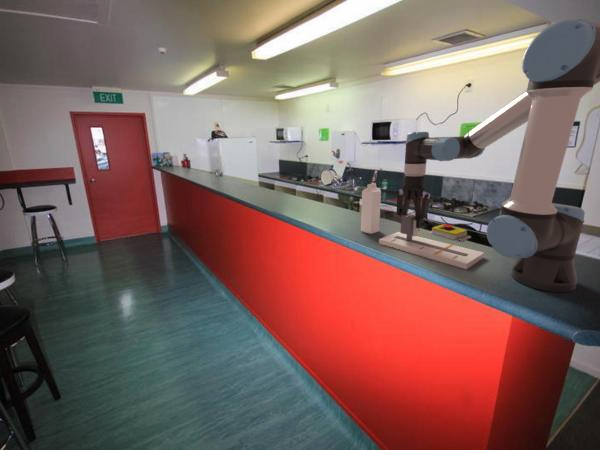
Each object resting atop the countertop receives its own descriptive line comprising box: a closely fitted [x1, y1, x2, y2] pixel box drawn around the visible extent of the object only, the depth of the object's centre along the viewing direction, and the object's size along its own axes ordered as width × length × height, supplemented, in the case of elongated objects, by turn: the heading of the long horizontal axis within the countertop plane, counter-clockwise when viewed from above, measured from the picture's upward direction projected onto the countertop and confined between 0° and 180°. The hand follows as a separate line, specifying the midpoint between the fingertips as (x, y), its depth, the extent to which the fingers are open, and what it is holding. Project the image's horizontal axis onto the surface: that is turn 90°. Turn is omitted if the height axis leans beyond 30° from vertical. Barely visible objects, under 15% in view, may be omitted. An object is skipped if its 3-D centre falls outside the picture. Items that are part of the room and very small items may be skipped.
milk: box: [360, 182, 382, 235], centre depth 136 cm, size 6×6×22 cm
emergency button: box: [428, 224, 472, 242], centre depth 131 cm, size 9×4×15 cm
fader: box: [399, 212, 420, 240], centre depth 119 cm, size 4×7×10 cm, turn 130°
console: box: [378, 231, 485, 270], centre depth 115 cm, size 34×14×2 cm, turn 40°
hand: (409, 234), depth 119 cm, fingers closed on fader, 4 cm apart
